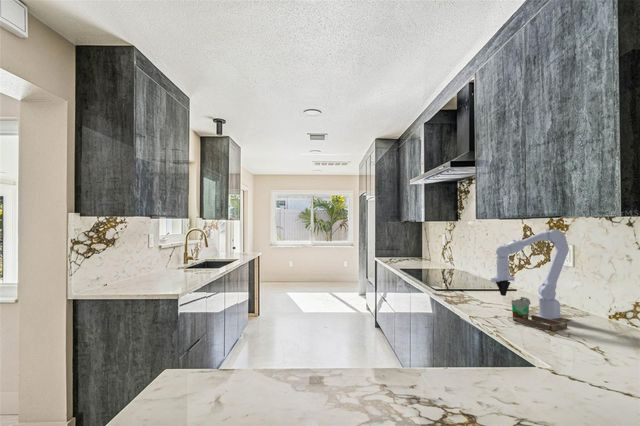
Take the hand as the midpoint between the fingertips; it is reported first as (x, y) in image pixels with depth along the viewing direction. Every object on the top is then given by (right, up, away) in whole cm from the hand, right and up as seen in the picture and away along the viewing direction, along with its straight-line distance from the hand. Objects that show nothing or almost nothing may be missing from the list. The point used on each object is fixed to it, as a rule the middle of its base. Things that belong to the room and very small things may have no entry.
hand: (503, 295), depth 198 cm
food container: (+3, -9, -13) cm, 17 cm away
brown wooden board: (+7, -9, -21) cm, 24 cm away
